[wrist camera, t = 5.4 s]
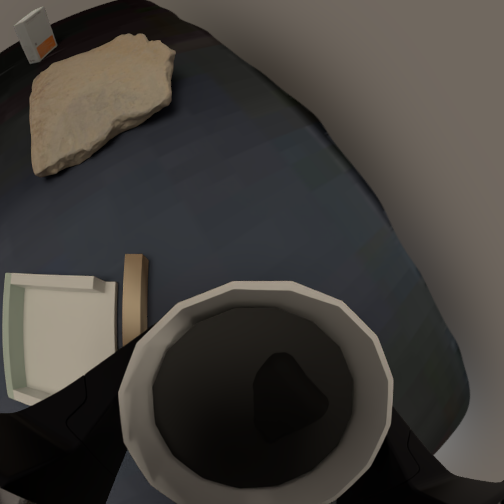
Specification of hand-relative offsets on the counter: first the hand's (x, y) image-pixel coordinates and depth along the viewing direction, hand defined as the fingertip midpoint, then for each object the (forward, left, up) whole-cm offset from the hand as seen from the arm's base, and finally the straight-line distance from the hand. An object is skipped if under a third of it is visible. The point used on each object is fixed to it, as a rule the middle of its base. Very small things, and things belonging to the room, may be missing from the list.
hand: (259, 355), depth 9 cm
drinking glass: (-1, +1, -7) cm, 7 cm away
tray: (+7, +15, -13) cm, 21 cm away
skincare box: (+64, +10, -13) cm, 66 cm away
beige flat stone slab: (+35, +1, -14) cm, 38 cm away
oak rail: (+3, +8, -13) cm, 16 cm away
